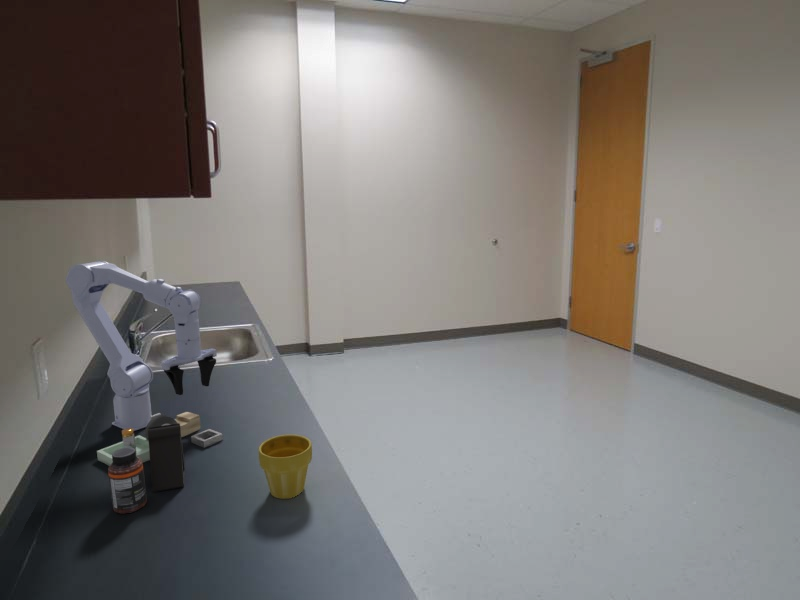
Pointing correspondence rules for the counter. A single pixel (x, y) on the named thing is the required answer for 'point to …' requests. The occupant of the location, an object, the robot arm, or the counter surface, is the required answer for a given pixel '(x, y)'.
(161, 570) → the counter surface
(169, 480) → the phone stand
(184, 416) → the block
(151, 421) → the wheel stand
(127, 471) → the supplement bottle
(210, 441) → the pin socket
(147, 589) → the counter surface
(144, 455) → the tray
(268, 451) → the plant pot
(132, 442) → the pin
